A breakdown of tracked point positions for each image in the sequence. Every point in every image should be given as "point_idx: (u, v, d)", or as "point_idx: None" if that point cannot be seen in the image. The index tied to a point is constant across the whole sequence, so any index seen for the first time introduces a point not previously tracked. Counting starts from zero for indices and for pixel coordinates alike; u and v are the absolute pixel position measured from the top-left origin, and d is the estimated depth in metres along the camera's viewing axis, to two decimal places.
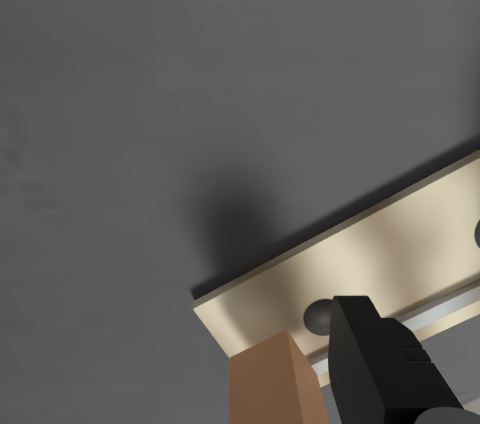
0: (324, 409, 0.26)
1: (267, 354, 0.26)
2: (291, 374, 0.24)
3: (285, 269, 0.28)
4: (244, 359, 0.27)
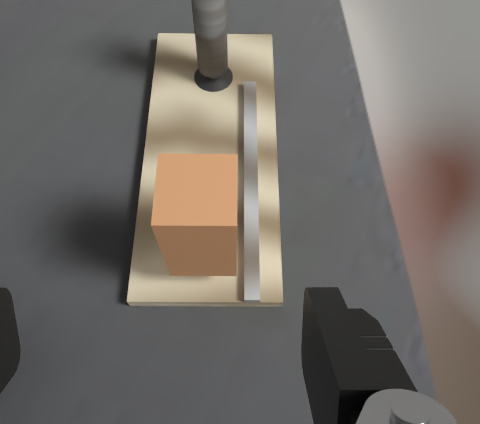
0: None
1: None
2: None
3: (145, 210, 0.32)
4: None
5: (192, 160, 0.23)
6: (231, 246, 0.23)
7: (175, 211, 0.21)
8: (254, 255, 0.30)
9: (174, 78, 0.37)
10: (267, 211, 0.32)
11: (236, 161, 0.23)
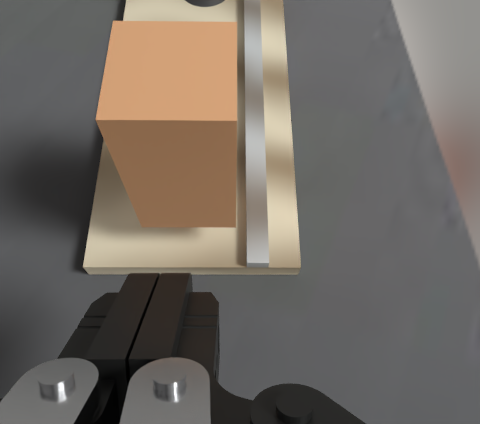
0: None
1: None
2: None
3: None
4: None
5: (166, 30, 0.14)
6: (228, 168, 0.15)
7: (136, 100, 0.13)
8: (260, 204, 0.22)
9: None
10: (277, 149, 0.24)
11: (235, 31, 0.14)
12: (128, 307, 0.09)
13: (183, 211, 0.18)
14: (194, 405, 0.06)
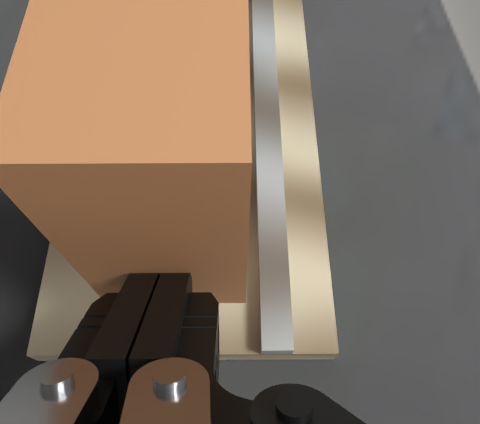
0: None
1: None
2: None
3: None
4: None
5: None
6: (234, 235, 0.09)
7: (61, 124, 0.07)
8: (279, 260, 0.15)
9: None
10: (299, 180, 0.18)
11: (245, 0, 0.08)
12: (128, 307, 0.09)
13: None
14: (194, 405, 0.06)
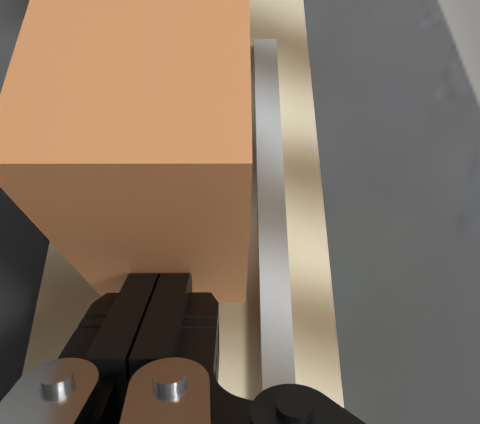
0: None
1: None
2: None
3: (55, 293, 0.15)
4: None
5: None
6: (234, 235, 0.09)
7: (62, 123, 0.07)
8: None
9: None
10: (307, 292, 0.15)
11: (246, 0, 0.08)
12: (128, 307, 0.09)
13: None
14: (194, 405, 0.06)
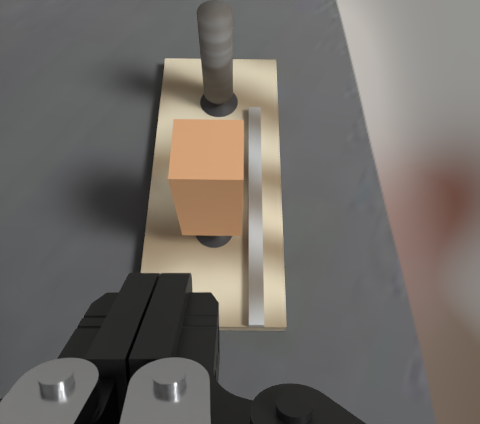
0: None
1: None
2: None
3: (152, 235, 0.33)
4: None
5: (204, 125, 0.26)
6: (237, 202, 0.26)
7: (189, 167, 0.24)
8: (258, 280, 0.31)
9: (181, 103, 0.38)
10: (271, 236, 0.33)
11: (242, 126, 0.26)
12: (128, 307, 0.09)
13: (209, 225, 0.29)
14: (194, 405, 0.06)
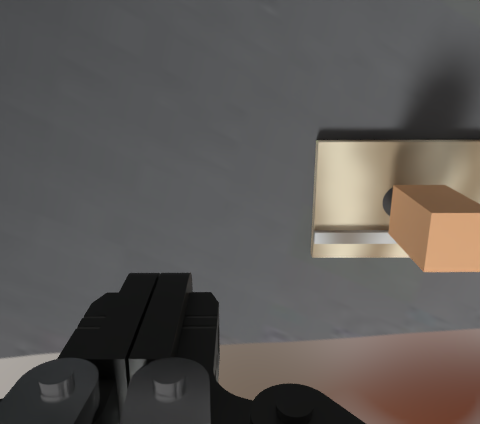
0: None
1: (433, 189, 0.34)
2: (466, 198, 0.31)
3: (399, 148, 0.36)
4: (410, 187, 0.34)
5: None
6: (409, 252, 0.32)
7: (441, 229, 0.28)
8: (349, 240, 0.38)
9: None
10: (388, 248, 0.39)
11: (478, 271, 0.29)
12: (128, 307, 0.09)
13: (397, 214, 0.34)
14: (194, 405, 0.06)
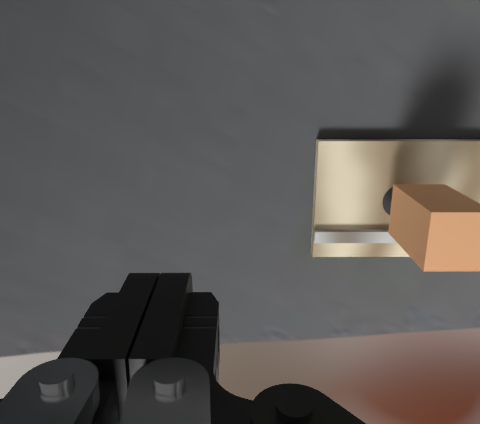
0: None
1: (433, 188, 0.34)
2: (466, 197, 0.31)
3: (399, 148, 0.36)
4: (410, 186, 0.34)
5: None
6: (409, 252, 0.32)
7: (440, 228, 0.28)
8: (349, 239, 0.38)
9: None
10: (388, 247, 0.39)
11: (478, 270, 0.29)
12: (128, 307, 0.09)
13: (397, 213, 0.34)
14: (194, 405, 0.06)
